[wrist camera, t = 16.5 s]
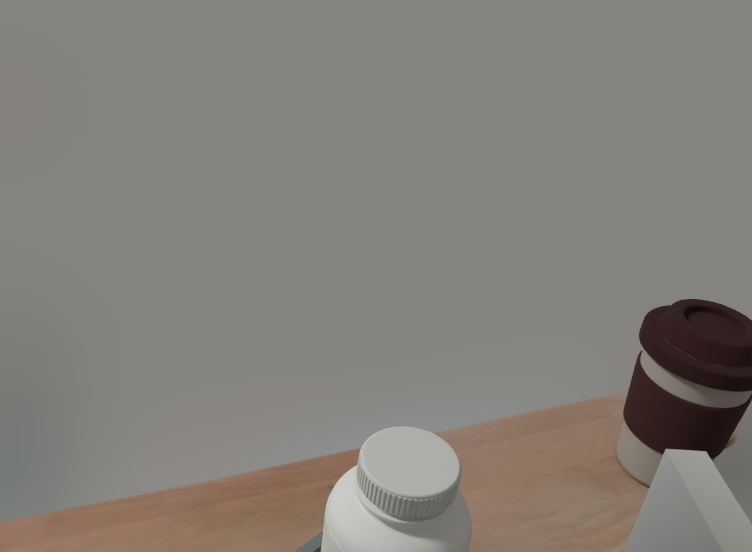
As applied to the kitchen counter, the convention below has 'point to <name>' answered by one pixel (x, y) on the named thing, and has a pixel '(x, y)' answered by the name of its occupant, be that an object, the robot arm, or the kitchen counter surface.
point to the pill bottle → (399, 498)
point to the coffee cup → (686, 384)
